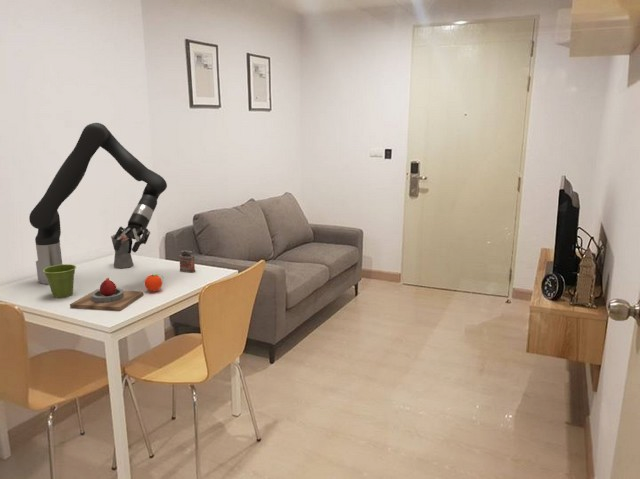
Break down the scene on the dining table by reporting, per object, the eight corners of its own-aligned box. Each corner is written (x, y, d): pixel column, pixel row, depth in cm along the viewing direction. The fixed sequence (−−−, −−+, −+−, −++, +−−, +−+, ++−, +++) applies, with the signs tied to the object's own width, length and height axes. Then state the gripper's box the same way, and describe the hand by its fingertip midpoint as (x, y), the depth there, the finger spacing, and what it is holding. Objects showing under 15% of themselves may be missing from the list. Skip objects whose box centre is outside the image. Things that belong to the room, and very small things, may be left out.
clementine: (160, 286, 214) (159, 270, 213) (168, 290, 209) (167, 274, 208) (142, 290, 209) (141, 274, 207) (149, 294, 204) (148, 278, 202)
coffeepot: (107, 265, 245) (104, 229, 241) (125, 261, 253) (122, 226, 249) (124, 271, 236) (121, 233, 232) (142, 267, 243) (139, 230, 239)
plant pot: (41, 295, 203) (37, 268, 200) (71, 288, 211) (68, 262, 209) (53, 302, 195) (50, 274, 193) (84, 294, 204) (81, 267, 201)
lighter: (178, 271, 237) (176, 250, 235) (182, 269, 240) (181, 249, 238) (192, 273, 234) (191, 252, 232) (196, 271, 237) (195, 250, 235)
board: (70, 308, 189) (69, 304, 189) (97, 292, 206) (97, 289, 206) (120, 311, 186) (119, 307, 186) (143, 295, 204) (143, 291, 203)
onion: (107, 301, 192) (105, 281, 190) (97, 298, 195) (95, 278, 193) (120, 296, 197) (118, 277, 195) (110, 294, 200) (108, 274, 198)
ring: (85, 301, 191) (85, 296, 191) (102, 292, 202) (102, 287, 202) (113, 303, 190) (113, 298, 189) (129, 293, 201) (128, 288, 200)
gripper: (121, 211, 210) (104, 244, 202) (150, 213, 206) (134, 247, 198) (131, 221, 216) (115, 253, 208) (159, 223, 212) (144, 256, 204)
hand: (124, 250), depth 203 cm, fingers open, 8 cm apart
